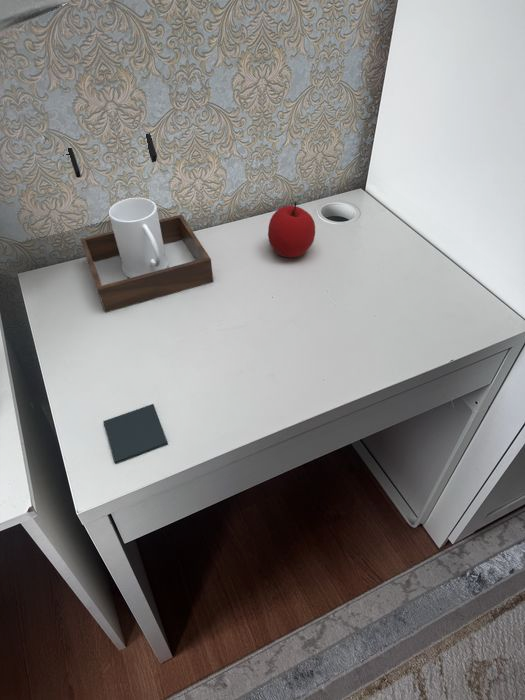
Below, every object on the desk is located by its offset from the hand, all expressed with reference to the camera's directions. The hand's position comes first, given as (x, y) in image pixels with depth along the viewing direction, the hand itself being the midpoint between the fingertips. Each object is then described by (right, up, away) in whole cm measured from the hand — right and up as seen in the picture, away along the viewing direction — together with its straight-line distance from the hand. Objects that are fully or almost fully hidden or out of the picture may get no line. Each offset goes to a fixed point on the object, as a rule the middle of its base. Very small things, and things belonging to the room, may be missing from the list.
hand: (117, 166), depth 85 cm
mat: (+9, -44, -20) cm, 49 cm away
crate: (+4, -18, +5) cm, 19 cm away
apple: (+31, -13, +9) cm, 35 cm away
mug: (+4, -18, +5) cm, 19 cm away
